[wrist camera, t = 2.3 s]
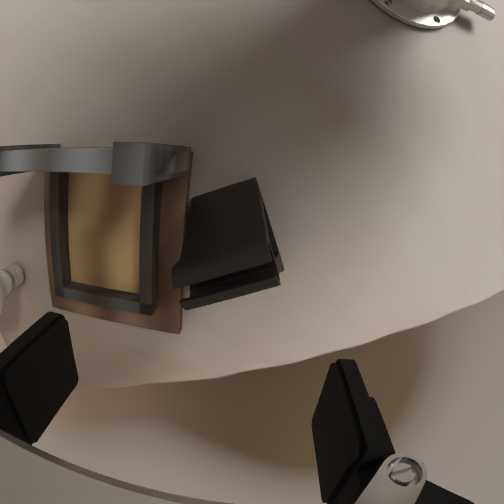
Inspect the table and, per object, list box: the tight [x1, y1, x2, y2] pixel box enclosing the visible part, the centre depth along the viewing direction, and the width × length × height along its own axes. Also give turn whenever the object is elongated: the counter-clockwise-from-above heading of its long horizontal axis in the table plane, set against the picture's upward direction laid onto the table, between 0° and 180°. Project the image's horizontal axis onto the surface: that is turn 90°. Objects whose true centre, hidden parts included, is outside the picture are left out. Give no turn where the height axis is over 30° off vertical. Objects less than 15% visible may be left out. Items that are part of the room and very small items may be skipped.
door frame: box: [0, 142, 193, 334], centre depth 24 cm, size 16×18×12 cm
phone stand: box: [171, 177, 284, 310], centre depth 24 cm, size 9×6×12 cm, turn 17°
